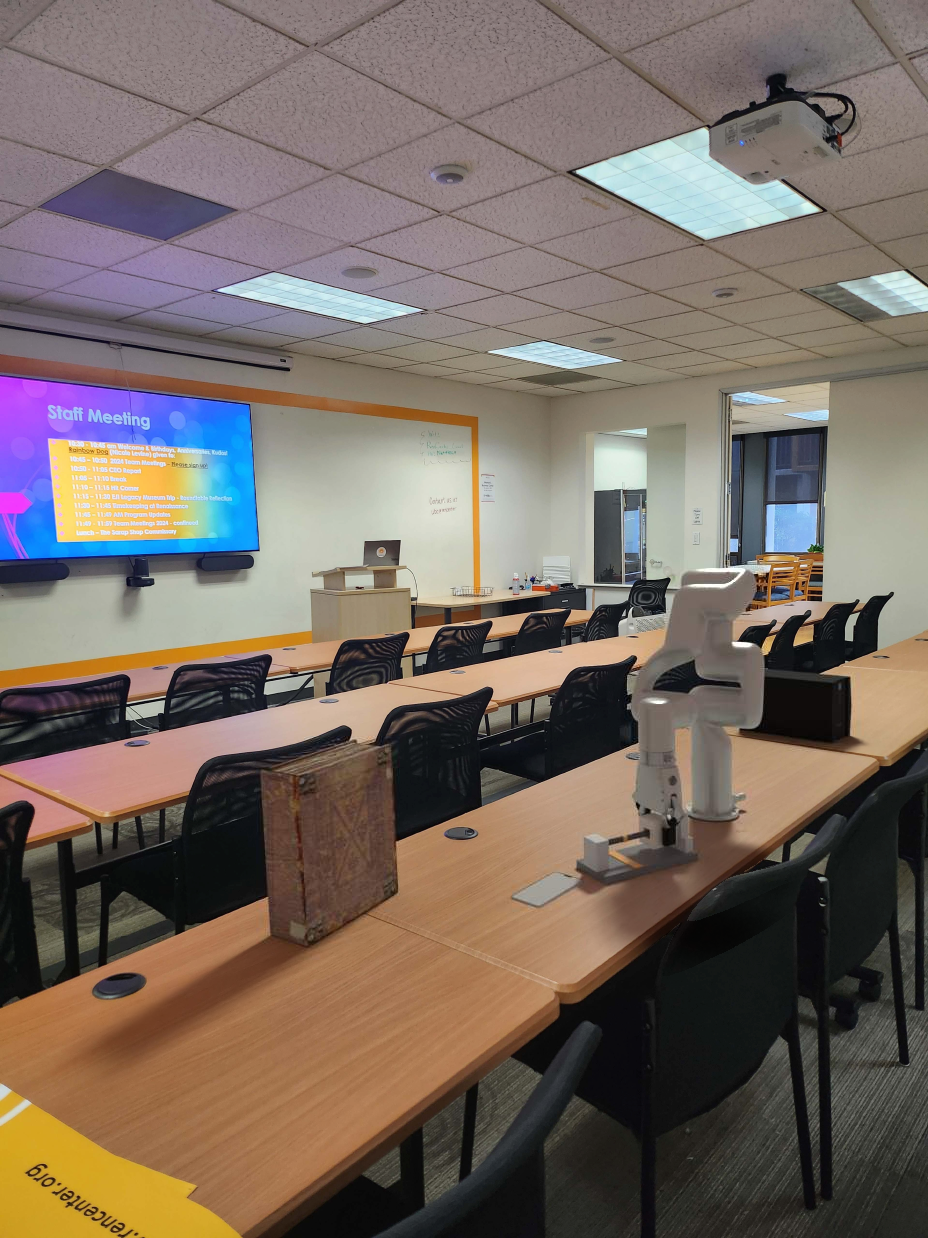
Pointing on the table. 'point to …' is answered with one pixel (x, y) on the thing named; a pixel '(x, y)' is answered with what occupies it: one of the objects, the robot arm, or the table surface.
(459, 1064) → the table surface
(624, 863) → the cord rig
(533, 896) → the smartphone
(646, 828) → the notched cream block
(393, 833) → the book
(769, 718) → the uninterruptible power supply
